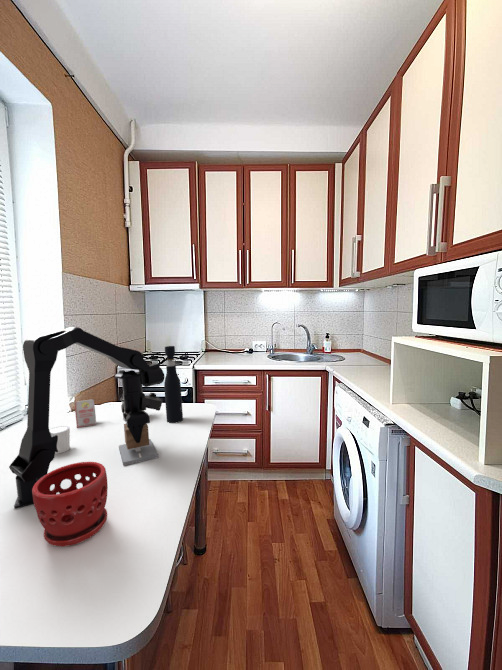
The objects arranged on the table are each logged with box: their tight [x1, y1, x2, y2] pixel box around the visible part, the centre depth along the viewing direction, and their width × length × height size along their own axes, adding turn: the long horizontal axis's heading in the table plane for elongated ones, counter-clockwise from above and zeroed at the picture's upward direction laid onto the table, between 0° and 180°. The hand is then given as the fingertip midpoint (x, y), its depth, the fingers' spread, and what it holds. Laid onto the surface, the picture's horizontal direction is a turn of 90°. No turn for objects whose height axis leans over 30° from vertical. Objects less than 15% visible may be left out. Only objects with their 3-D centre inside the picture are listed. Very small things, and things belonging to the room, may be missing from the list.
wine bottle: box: [163, 345, 184, 424], centre depth 132 cm, size 6×6×30 cm
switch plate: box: [118, 438, 159, 466], centre depth 104 cm, size 14×10×6 cm
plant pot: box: [32, 461, 109, 548], centre depth 67 cm, size 13×13×12 cm
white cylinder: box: [49, 425, 71, 455], centre depth 110 cm, size 7×7×7 cm
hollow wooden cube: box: [123, 423, 150, 449], centre depth 104 cm, size 6×6×6 cm
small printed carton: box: [74, 398, 97, 428], centre depth 134 cm, size 4×7×10 cm, turn 112°
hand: (136, 439), depth 104 cm, fingers closed on hollow wooden cube, 6 cm apart
